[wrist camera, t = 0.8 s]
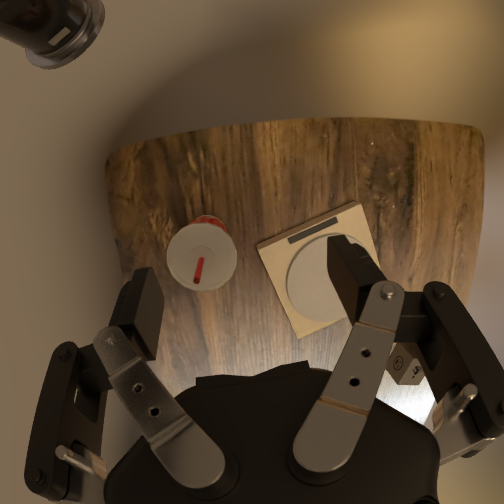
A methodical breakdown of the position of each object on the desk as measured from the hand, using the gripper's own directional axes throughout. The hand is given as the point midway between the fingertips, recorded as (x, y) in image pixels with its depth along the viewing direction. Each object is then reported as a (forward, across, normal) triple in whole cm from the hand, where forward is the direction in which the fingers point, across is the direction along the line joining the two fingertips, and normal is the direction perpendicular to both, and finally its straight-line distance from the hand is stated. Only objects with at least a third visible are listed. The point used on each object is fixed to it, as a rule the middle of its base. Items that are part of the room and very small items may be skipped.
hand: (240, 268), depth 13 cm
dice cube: (+13, -22, +33) cm, 42 cm away
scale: (+18, -9, +15) cm, 25 cm away
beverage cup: (+19, +4, +8) cm, 21 cm away
